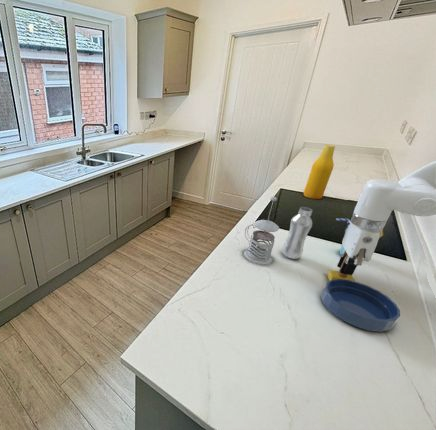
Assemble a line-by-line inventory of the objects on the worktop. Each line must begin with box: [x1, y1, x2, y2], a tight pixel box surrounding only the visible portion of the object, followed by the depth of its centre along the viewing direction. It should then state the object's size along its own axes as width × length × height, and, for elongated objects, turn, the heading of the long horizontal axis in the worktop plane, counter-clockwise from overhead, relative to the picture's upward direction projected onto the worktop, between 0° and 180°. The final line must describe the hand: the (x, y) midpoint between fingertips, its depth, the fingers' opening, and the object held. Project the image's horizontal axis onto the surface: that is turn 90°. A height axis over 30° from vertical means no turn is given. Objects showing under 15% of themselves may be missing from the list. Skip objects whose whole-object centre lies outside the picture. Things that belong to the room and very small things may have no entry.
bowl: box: [320, 279, 401, 333], centre depth 76 cm, size 16×16×4 cm
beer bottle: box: [303, 144, 336, 200], centre depth 145 cm, size 9×9×29 cm
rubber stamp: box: [327, 255, 356, 282], centre depth 85 cm, size 6×4×10 cm, turn 65°
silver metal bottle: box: [281, 206, 313, 260], centre depth 96 cm, size 6×7×20 cm
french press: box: [243, 196, 280, 265], centre depth 96 cm, size 10×12×25 cm
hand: (344, 270), depth 85 cm, fingers closed on rubber stamp, 2 cm apart
